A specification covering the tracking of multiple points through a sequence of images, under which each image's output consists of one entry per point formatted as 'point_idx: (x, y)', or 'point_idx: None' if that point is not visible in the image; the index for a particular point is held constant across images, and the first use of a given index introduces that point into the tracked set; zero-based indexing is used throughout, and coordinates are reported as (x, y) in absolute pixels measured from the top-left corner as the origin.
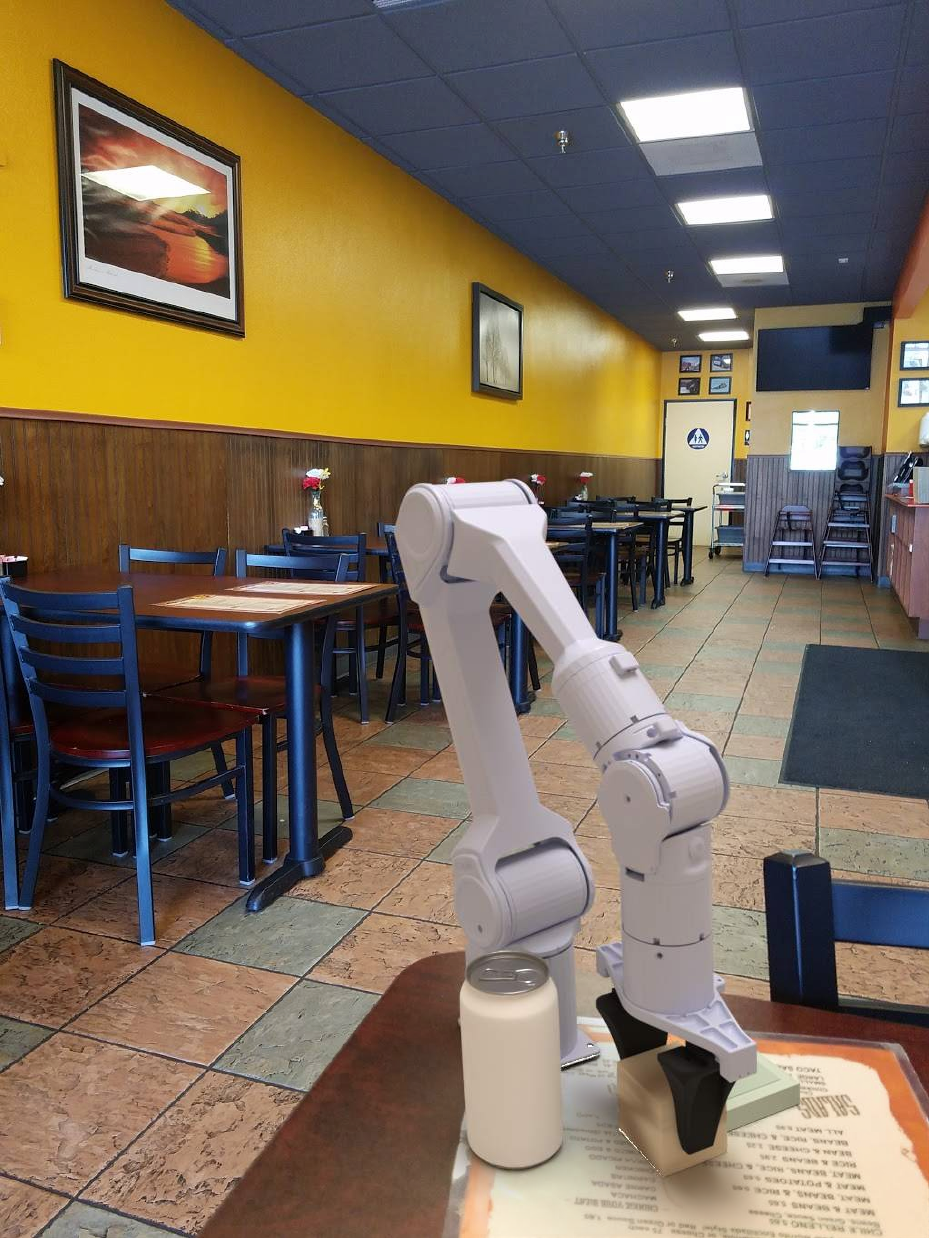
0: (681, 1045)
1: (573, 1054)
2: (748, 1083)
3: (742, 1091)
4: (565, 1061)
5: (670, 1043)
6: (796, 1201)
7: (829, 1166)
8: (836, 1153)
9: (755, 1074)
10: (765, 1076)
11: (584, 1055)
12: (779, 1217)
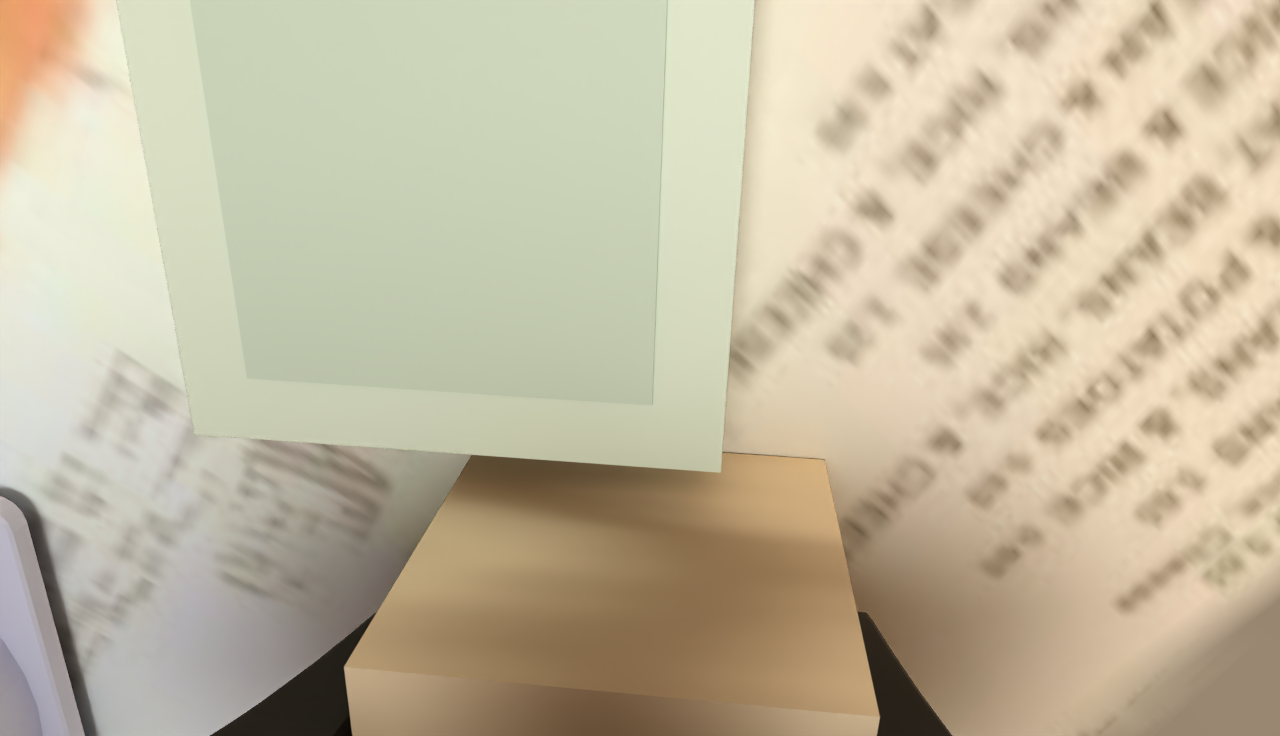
0: (401, 683)
1: (4, 621)
2: (601, 156)
3: (647, 246)
4: (44, 669)
5: (351, 719)
6: (1225, 430)
7: (1202, 131)
8: (1170, 17)
9: (553, 52)
10: (601, 10)
11: (24, 591)
12: (1227, 544)
